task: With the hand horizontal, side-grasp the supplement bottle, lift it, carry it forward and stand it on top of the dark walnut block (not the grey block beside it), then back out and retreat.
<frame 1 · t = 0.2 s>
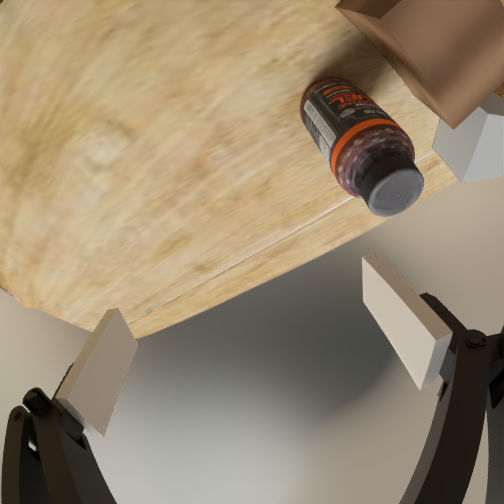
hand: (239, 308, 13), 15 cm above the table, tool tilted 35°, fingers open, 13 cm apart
walnut block: (422, 19, 12), on the table
supplement bottle: (329, 104, 20), on the table
grey block: (464, 118, 21), on the table
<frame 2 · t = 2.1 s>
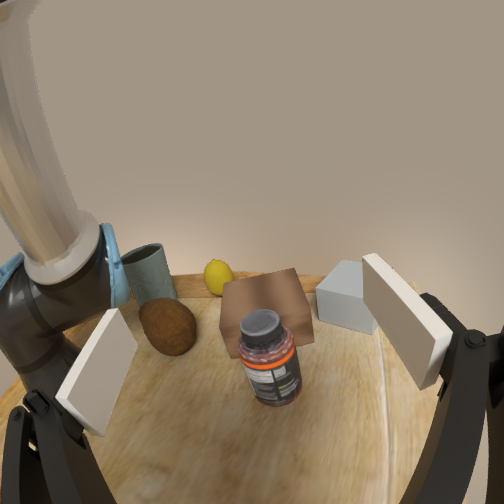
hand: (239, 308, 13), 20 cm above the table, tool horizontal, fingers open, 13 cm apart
grey green planter pot: (159, 303, 56), on the table
walnut block: (268, 325, 42), on the table
potato: (177, 342, 43), on the table
supplement bottle: (278, 390, 30), on the table
grey block: (357, 309, 40), on the table
lemon: (224, 296, 53), on the table
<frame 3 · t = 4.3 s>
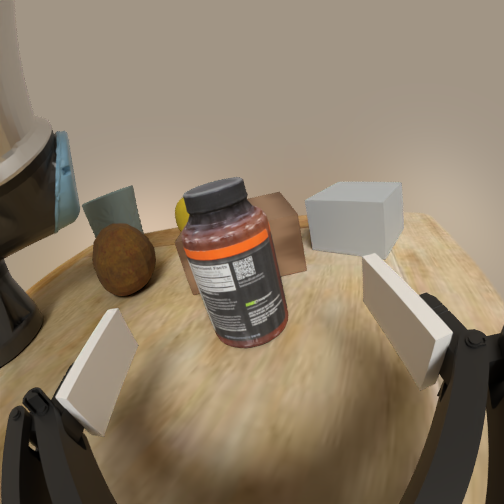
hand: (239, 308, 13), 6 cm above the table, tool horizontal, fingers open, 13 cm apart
grey green planter pot: (128, 255, 47), on the table
walnut block: (247, 259, 33), on the table
potato: (135, 285, 34), on the table
supplement bottle: (252, 327, 21), on the table
grey block: (361, 238, 31), on the table
lemon: (199, 241, 45), on the table
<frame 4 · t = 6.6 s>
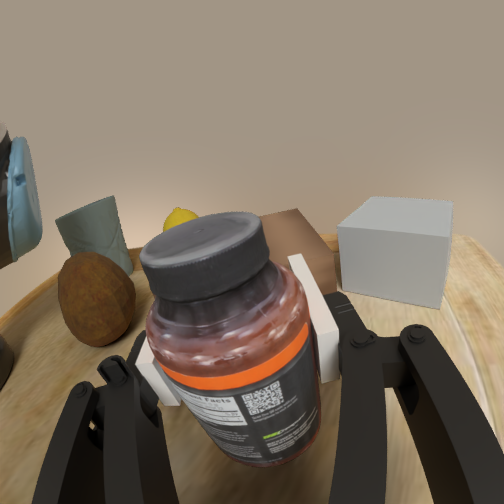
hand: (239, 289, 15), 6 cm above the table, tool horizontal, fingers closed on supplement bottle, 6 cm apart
grey green planter pot: (111, 278, 39), on the table
walnut block: (255, 301, 25), on the table
potato: (113, 328, 26), on the table
supplement bottle: (268, 426, 13), on the table, touching gripper
grey block: (402, 273, 23), on the table
lemon: (194, 265, 36), on the table
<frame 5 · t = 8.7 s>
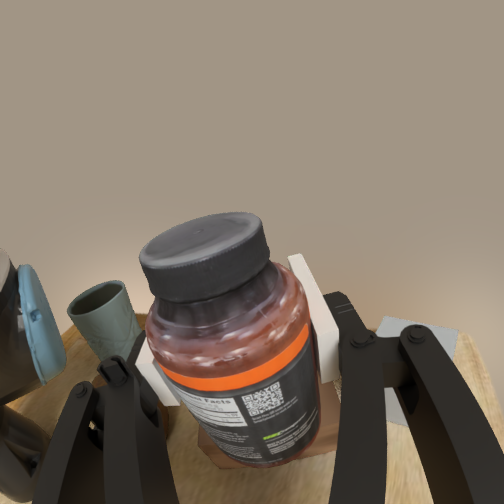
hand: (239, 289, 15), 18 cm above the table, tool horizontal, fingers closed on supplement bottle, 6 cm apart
grey green planter pot: (128, 357, 39), on the table
walnut block: (274, 415, 25), on the table
potato: (147, 427, 26), on the table
supplement bottle: (268, 427, 13), point 12 cm above the table, touching gripper
grey block: (402, 388, 23), on the table
when the fingers open (13 cm above the table, at t = 11.0 s): supplement bottle drops 1 cm, resting on walnut block.
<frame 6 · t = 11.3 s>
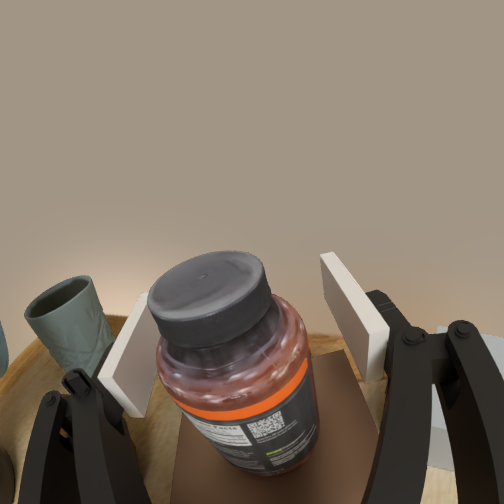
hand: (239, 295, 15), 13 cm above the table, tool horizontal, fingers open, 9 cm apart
grey green planter pot: (101, 370, 30), on the table
walnut block: (284, 466, 16), on the table
supplement bottle: (270, 437, 13), point 6 cm above the table, touching walnut block
grey block: (454, 421, 14), on the table
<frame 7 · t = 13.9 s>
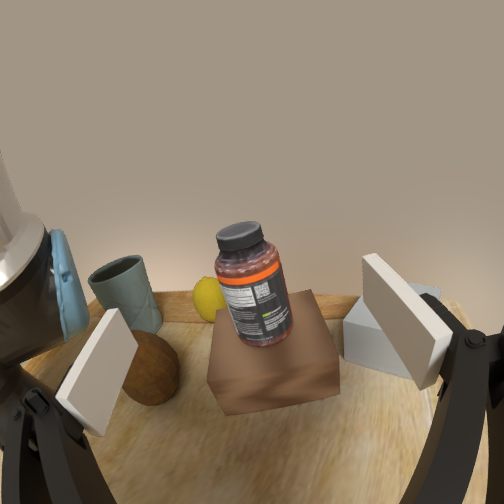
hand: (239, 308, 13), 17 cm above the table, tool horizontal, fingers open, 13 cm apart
grey green planter pot: (142, 328, 44), on the table
walnut block: (277, 367, 30), on the table
potato: (158, 384, 31), on the table
supplement bottle: (266, 331, 28), point 6 cm above the table, touching walnut block
grey block: (393, 344, 28), on the table
lemon: (220, 322, 42), on the table
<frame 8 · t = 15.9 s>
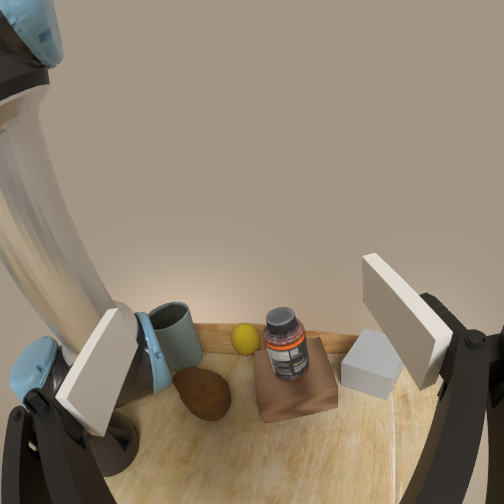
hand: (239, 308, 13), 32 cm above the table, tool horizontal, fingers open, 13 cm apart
grey green planter pot: (185, 357, 57), on the table
walnut block: (296, 389, 43), on the table
potato: (211, 403, 44), on the table
supplement bottle: (291, 369, 40), point 6 cm above the table, touching walnut block
grey block: (374, 374, 41), on the table
lemon: (250, 353, 54), on the table
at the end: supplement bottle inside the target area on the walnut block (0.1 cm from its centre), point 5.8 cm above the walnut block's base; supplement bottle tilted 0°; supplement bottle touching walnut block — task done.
